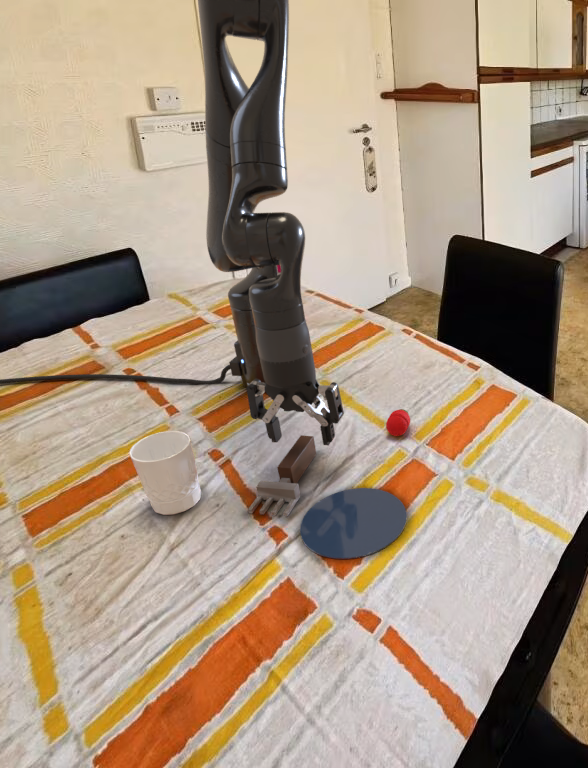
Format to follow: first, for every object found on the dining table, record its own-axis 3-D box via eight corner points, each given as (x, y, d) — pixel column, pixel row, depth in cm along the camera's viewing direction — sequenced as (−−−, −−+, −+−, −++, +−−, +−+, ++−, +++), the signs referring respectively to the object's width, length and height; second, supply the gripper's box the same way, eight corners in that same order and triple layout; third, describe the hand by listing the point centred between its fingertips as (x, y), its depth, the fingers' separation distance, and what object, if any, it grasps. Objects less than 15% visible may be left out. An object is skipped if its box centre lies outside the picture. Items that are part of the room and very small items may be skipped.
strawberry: (384, 439, 108) (382, 420, 107) (392, 422, 113) (391, 404, 111) (405, 441, 108) (403, 422, 106) (413, 424, 113) (411, 406, 111)
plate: (282, 553, 84) (282, 552, 84) (323, 485, 97) (323, 484, 97) (390, 564, 82) (390, 563, 82) (417, 493, 95) (417, 492, 95)
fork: (293, 452, 105) (289, 434, 103) (327, 454, 104) (324, 436, 103) (248, 513, 91) (243, 493, 89) (287, 516, 90) (283, 497, 89)
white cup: (186, 478, 99) (170, 425, 94) (216, 496, 95) (201, 441, 90) (137, 505, 93) (118, 449, 88) (167, 525, 89) (148, 468, 84)
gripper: (340, 341, 95) (352, 431, 102) (251, 337, 96) (270, 426, 104) (322, 362, 88) (337, 457, 96) (227, 358, 90) (249, 451, 97)
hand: (302, 441), depth 100 cm, fingers open, 8 cm apart
